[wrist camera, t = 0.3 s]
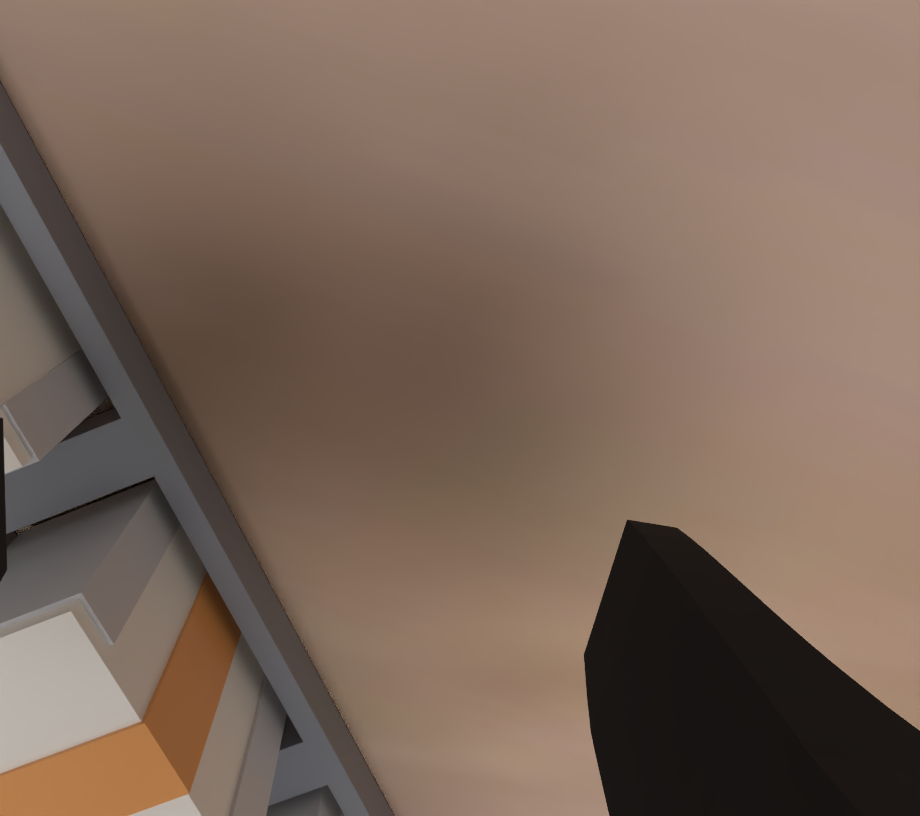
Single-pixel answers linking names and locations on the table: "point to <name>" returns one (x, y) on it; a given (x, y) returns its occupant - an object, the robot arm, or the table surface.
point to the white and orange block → (127, 673)
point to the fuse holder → (162, 478)
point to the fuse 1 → (37, 361)
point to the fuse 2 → (308, 805)
